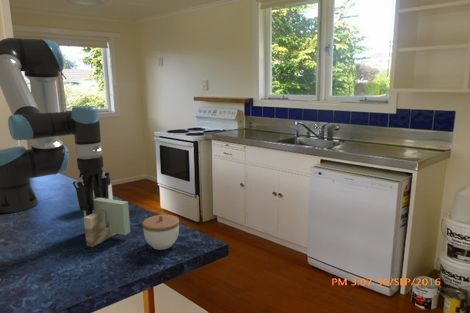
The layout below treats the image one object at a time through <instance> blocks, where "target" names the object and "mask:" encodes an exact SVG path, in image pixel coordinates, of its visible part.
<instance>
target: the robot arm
mask: <svg viewBox="0 0 470 313" xmlns="http://www.w3.org/2000/svg"><path fill="white" fill-rule="evenodd" d="M64 66H65V63H64V57H63V53H62V50H61V48H60V46H59V45H58V43H57V42H56V41H54V40H51V39H50V40H49V39H44V38H43V39H42V38H22V37H21V38H20V37H19V38H17V37H8V38H6V37H5V38H4V39H1V40H0V89H1V91H2V94H3V96H4V98H5V100H6V103H7V106H8V109H9V110H10V114H11V115H9V117H8V120H7V127H8V130H9V134H10V137H11V138H12V139H13V140H15V141H30V140H34V141H33V142H31V144H30V146H31V147H30V148H29V149H27V148H26V147H25V146H23V145H21V146H19V145H18V146H13V147H8V148H7V147H6V148H3V149H1V150H0V214H9V213H10V214H11V213H17V212H22V211H25V210H26V211H27V210H29V209H32V208H34V207H35V206H37V205H38V197H37V195H36V193H35V191H34V190H33V188H32V186H31V181H30V179H34V178H42V177H46V176H55V175H57V174H63V173H65V172H66V171H67V170H68V167H69V163H70V153H69V149H68V147H67V146H66V145H65V144H64V142H63V141H62V140H61V139H60V138H59V137H64V136H73V135H74V145H75V146H74V147H75V156H76V157H77V158H76V163H77V164H76V165H77V169H78V171H79V177H78V179H77V180H75V181H74V180H73V182H72V185H73V187H74V188H75V193H76V197H77V201H78V206H79V210H80V211H83V212H84V211H86V216H88V215H90V214H92V213H94V212H96V211H95V210H93V191H94V195H95V197H98V198H105V199H108V178H109V177H110V173H109V172H107V171H104V170H103V168H104V158H103V156H102V154H103V148H102V147H103V146H102V138H101V126H100V116H99V108H97V106H95V105H79V106H78V105H77V106H73V107H71V108H72V109H71V110H66V111H61V112H60V111H57V110H58V108H57V97H56V95H57V94H56V93H57V91H56V80H58V78H59V74H60V73H61V72H63V71H64ZM22 72H23V73H24V75H23V73H22ZM25 77H26V78H27V79H28V80H29V85H30V86H29V85H28V83H27V81H26V79H25ZM88 206H89V207H88Z"/></svg>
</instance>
